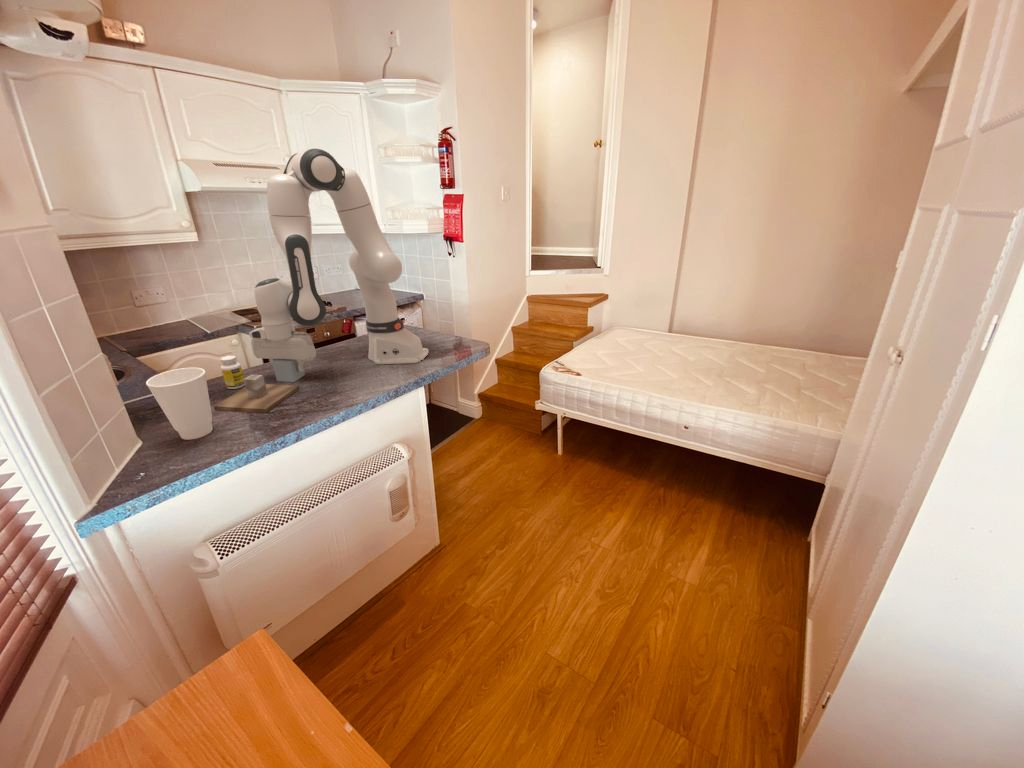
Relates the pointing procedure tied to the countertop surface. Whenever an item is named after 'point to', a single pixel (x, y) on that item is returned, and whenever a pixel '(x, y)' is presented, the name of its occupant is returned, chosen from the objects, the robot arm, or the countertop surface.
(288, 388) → the post base
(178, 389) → the cup
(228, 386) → the supplement bottle
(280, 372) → the pale grey cube
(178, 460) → the countertop surface
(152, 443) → the countertop surface
